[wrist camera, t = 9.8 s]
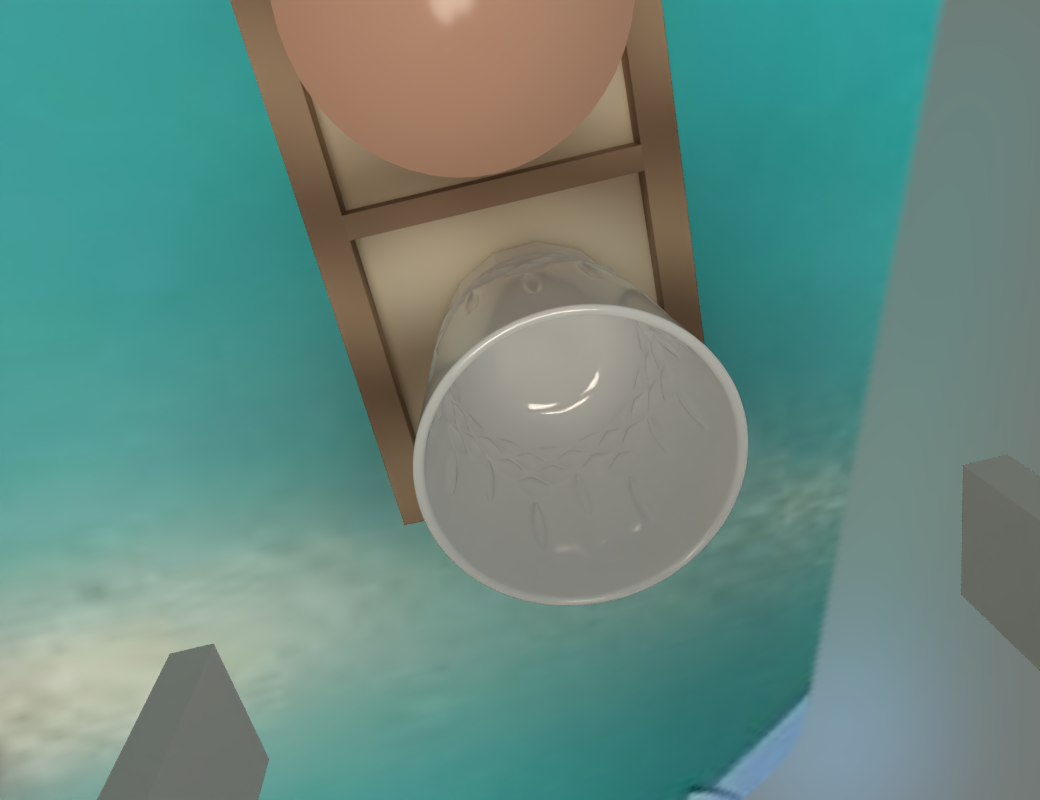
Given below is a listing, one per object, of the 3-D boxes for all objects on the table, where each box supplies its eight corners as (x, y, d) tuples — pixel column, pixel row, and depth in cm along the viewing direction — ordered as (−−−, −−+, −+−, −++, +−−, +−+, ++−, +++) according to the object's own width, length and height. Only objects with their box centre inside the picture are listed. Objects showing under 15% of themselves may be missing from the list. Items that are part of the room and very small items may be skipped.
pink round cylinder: (595, 117, 24) (659, 134, 17) (369, 171, 24) (334, 212, 17) (549, -158, 21) (602, -285, 14) (292, -96, 21) (208, -190, 14)
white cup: (691, 311, 27) (817, 430, 18) (555, 472, 29) (605, 654, 20) (515, 174, 24) (555, 230, 15) (381, 360, 27) (345, 508, 17)
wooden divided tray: (699, 426, 30) (717, 451, 28) (407, 495, 30) (404, 525, 28) (608, -258, 21) (624, -293, 19) (195, -158, 21) (169, -183, 19)
